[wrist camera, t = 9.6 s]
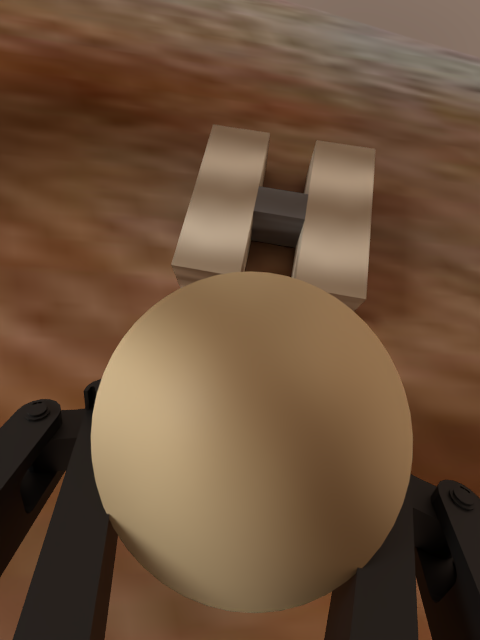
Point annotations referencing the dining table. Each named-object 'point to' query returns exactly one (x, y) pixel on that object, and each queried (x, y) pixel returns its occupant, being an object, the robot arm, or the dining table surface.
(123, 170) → the dining table surface
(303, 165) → the dining table surface
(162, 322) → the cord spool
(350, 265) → the slotted stand
